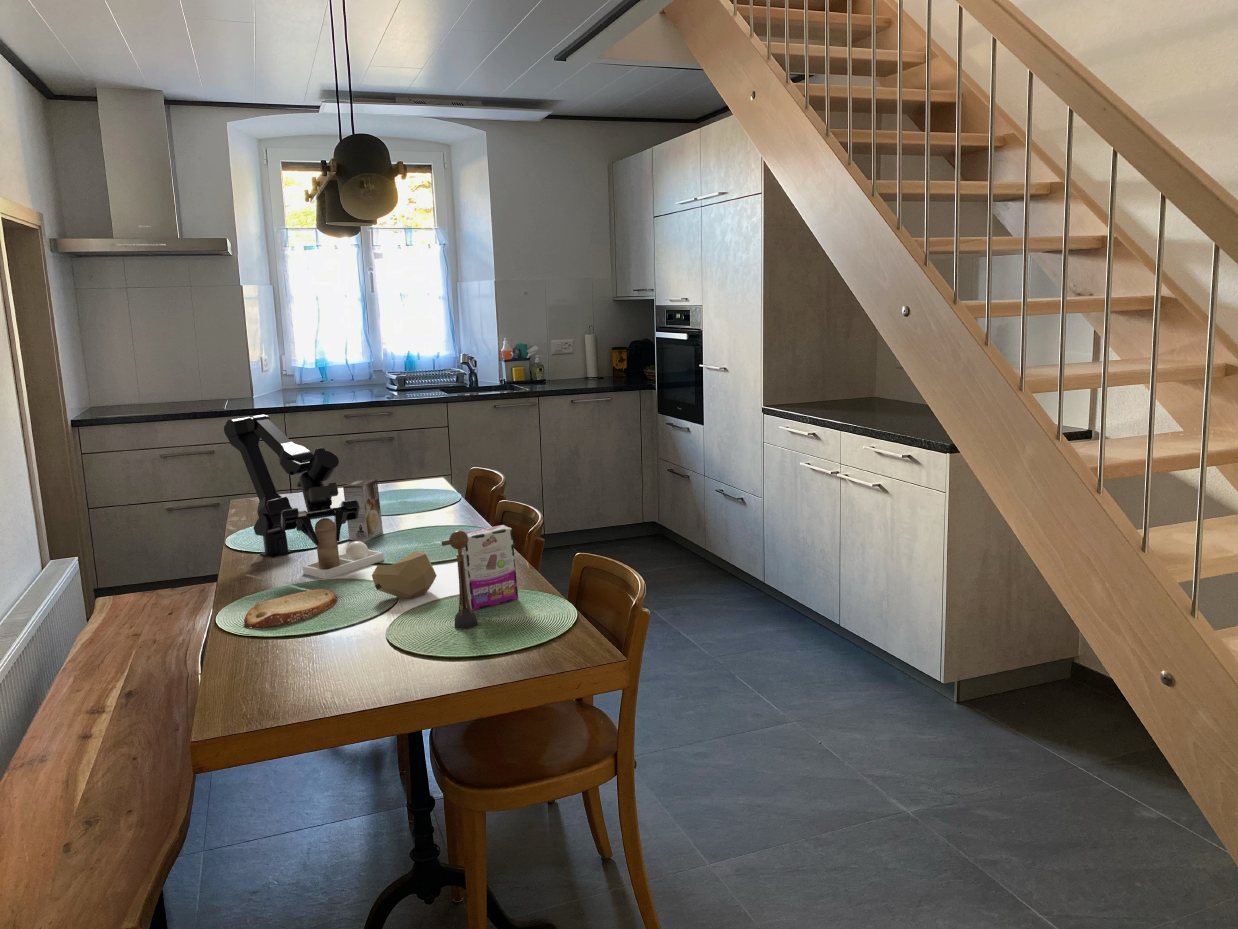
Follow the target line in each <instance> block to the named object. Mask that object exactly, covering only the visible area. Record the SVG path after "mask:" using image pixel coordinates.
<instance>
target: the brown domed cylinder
mask: <svg viewBox="0 0 1238 929" xmlns="http://www.w3.org/2000/svg"><path fill="white" fill-rule="evenodd" d="M314 525H315V526H314V532H315V535H316V537H317V542H318V545H316V551H317V562H319V569H322V570H328V569H331V568H334V567H337V566H340V561H339V555H340V554H339V545H338V541H337V534H336V526H335V523H334V521H333V520H332V519H331V518H329V517H325V518H319V520H317V522H316V523H315V524H314Z"/></svg>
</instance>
